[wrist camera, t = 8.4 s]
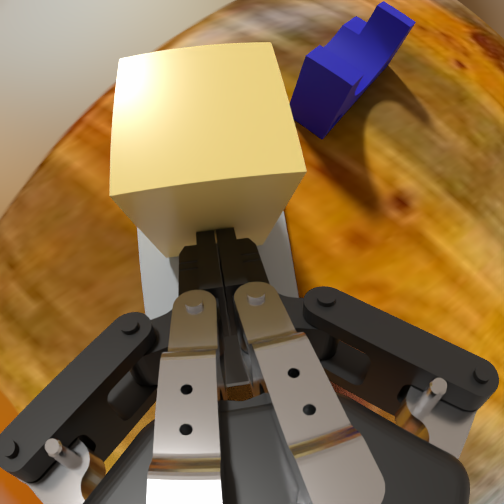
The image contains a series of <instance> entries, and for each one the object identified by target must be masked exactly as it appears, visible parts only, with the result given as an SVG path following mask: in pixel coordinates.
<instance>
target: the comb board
mask: <svg viewBox="0 0 504 504" xmlns="http://www.w3.org/2000/svg"><path fill="white" fill-rule="evenodd" d="M137 231H138V245H139V258H140V269H141V279H142V288H143V297H144V305H145V313H146V315H147V316H148V317H149V319H150V320H152V319H154V318H157V317H160V316H162V315H164V314H166V313H168V312H169V311H170V310H172V309H173V303H174V301H175V300H176V298H177V297H178V282H179V256H177V257H169V258H166V257H165V256H164V255H163V254H162V253H161V252H160V251H159V250H158V249H157V248H156V247H155V245H154V244H153V243H152V242H151V241H150V240H149V239H148V238H147V237H146V236H145V235H144V234H143V233H142V231H141V230H140V229H139V228H138V227H137ZM216 248H217V254H218V246H217V243H216ZM257 249H258V252H259V254H260V257H261V260H262V263H263V266H264V269H265V272H266V275H267V277H268V280H269V283H270V285H271V286H273V287H274V288H275V289H276V291H277V293H279V294H281V295H284V296H287V297H296V298H299V296H298V290H297V284H296V278H295V272H294V266H293V261H292V255H291V249H290V244H289V238H288V233H287V227H286V222H285V216H284V211H283V212H282V213H281V215H280V217H279V218H278V220H277V222H276V223H275V225H274V227H273V228H272V230H271V232H270V233H269V235H268V237H267V238H266V240H265V242H264V243H263V245H259V246H257ZM218 261H219V254H218ZM219 267H220V262H219ZM220 274H221V270H220ZM221 280H222V276H221ZM222 286H223V283H222ZM223 294H224V289H223ZM224 301H225V295H224ZM225 309H226V316H227V323H228V330H229V336H226V337H224V340H225V351H224V352H225V363H226V379H227V387H231V386H238V385H245V384H249V380H248V377H247V374H246V371H245V367H244V364H243V361H242V357H241V354H240V347H239V340H238V335H232V336H231V330H230V324H229V318H228V313H227V307H226V301H225Z"/></svg>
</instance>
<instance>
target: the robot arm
mask: <svg viewBox="0 0 504 504" xmlns="http://www.w3.org/2000/svg"><path fill="white" fill-rule="evenodd" d="M216 237H217V246H218V254H219V261H218V254H217V248H216V241H215V235H214V230H209V231H202V232H196V243H197V245H190V246H184V248H183V249H182V251H181V252H180V254H179V282H178V297H177V298H176V300H175V301H174V303H173V309H172V310H170V311H169V312H168V313H166V314H164V315H162V316H160V317H157V318H154V319H152V320H150V319H149V317H148V316H147V315H145V314H143V313H139V312H131V313H127V314H124V315H122V316H120V317H119V318H117V319H116V320H115V321H114V322H113V323H112V324H111V325H110V326H109V327H107V328H106V329H105V330H104V331H103V332H102V333H101V334H100V335H99V336H98V337H97V338H96V339H95V340H94V341H93V342H92V343H91V344H89V345H88V346H87V347H86V348H85V349H84V350H83V351H82V352H81V353H80V354H79V355H78V356H77V357H76V358H75V359H74V360H73V361H72V362H71V363H70V364H69V365H68V366H67V367H66V368H65V369H64V370H63V371H62V372H60V373H59V374H58V375H57V376H56V377H55V378H54V379H53V380H52V381H51V382H50V383H49V384H48V385H47V386H46V387H45V388H44V389H43V390H42V391H41V392H40V393H39V394H38V395H37V396H36V397H35V398H34V399H33V400H32V401H31V402H30V404H29V405H28V406H27V407H26V408H25V409H24V410H23V411H22V412H21V413H20V414H19V415H18V416H17V417H16V418H15V419H14V420H13V421H12V422H11V423H10V424H9V425H8V426H7V427H6V428H5V429H4V431H3V432H2V433H1V434H0V467H1V468H2V469H4V470H5V471H7V472H9V473H10V474H12V475H13V476H15V477H17V478H18V479H19V480H20V481H22V482H23V483H25V484H27V485H28V486H29V487H30V488H31V489H32V490H33V492H35V494H36V495H37V496H38V497H39V499H40V500H41V501H42V502H43V503H44V504H469V495H470V482H469V477H468V474H467V472H466V469H465V468H464V466H463V464H462V463H461V462H460V461H459V460H458V459H459V456H460V454H461V451H462V449H463V447H464V444H465V442H466V439H467V436H468V434H469V431H470V428H471V425H472V423H473V420H474V417H475V414H476V411H477V410H478V409H479V408H480V407H481V406H482V405H483V404H484V403H485V402H486V401H487V400H488V399H489V397H490V396H491V395H492V394H493V393H494V392H495V391H496V389H497V387H498V384H499V377H498V373H497V371H496V369H495V367H494V366H493V365H492V364H491V363H490V362H489V361H487V360H485V359H483V358H481V357H479V356H477V355H475V354H473V353H470V352H468V351H466V350H464V349H462V348H460V347H458V346H456V345H454V344H451V343H449V342H447V341H445V340H443V339H441V338H439V337H437V336H435V335H432V334H430V333H428V332H426V331H424V330H422V329H420V328H418V327H416V326H413V325H411V324H409V323H407V322H405V321H403V320H401V319H399V318H397V317H394V316H392V315H390V314H388V313H386V312H384V311H382V310H380V309H377V308H375V307H373V306H371V305H369V304H367V303H365V302H363V301H360V300H358V299H356V298H354V297H352V296H350V295H348V294H346V293H343V292H341V291H339V290H337V289H335V288H331V287H316V288H313V289H311V290H309V291H308V292H307V293H306V295H305V296H304V298H296V297H287V296H284V295H281V294H279V293H277V291H276V289H275V288H274V287H273V286H271V285H270V283H269V280H268V277H267V275H266V272H265V269H264V266H263V263H262V260H261V257H260V254H259V252H258V249H257V246H256V244H255V243H254V242H253V241H252V240H250V239H249V238H243V239H237V238H236V234H235V230H234V227H232V228H224V229H216ZM219 262H220V267H219ZM220 270H221V274H220ZM221 276H222V280H221ZM222 283H223V286H222ZM223 289H224V294H223ZM224 295H225V301H226V307H227V313H228V318H229V324H230V330H231V336H232V335H238V340H239V347H240V354H241V357H242V361H243V364H244V367H245V371H246V374H247V377H248V380H249V384H250V387H251V390H252V394H253V398H251V399H248V400H245V401H229V400H228V394H227V379H226V363H225V352H224V351H225V340H224V337H226V336H229V330H228V323H227V316H226V309H225V301H224ZM340 340H341V341H340ZM343 342H344V343H343ZM345 343H346V344H345ZM347 344H348V345H347ZM349 345H350V346H349ZM351 346H352V347H351ZM353 347H354V348H353ZM355 348H356V349H355ZM357 349H358V350H357ZM359 350H360V351H359ZM362 352H363V353H362ZM364 353H365V354H364ZM329 380H330V381H332V382H333V383H335V384H337V385H339V386H340V387H342V388H344V389H346V390H347V391H349V392H351V393H353V394H355V395H356V396H358V397H360V398H362V399H364V400H366V401H367V402H369V403H371V404H373V405H375V406H377V407H378V408H380V409H382V410H384V411H386V412H388V413H390V414H392V415H394V416H395V421H396V424H397V425H396V424H394V423H392V422H391V421H389V420H387V419H385V418H384V417H382V416H380V415H378V414H377V413H375V412H373V411H371V410H370V409H368V408H366V407H365V406H363V405H361V404H360V403H358V402H356V401H355V400H353V399H351V398H349V397H347V396H345V395H343V394H340V393H337V392H335V391H334V389H333V387H332V385H331V383H330V381H329ZM155 402H156V412H155V419H154V420H153V421H151V422H150V423H149V424H147V425H146V426H145V427H144V428H143V429H142V430H141V431H140V432H139V434H138V435H137V436H136V437H135V439H134V440H133V441H132V442H131V444H130V445H129V446H128V448H127V449H126V450H125V451H124V453H123V454H122V455H121V456H120V458H119V459H118V460H117V461H116V463H115V464H114V465H113V466H112V468H111V469H110V470H109V471H108V473H107V474H106V469H105V465H104V461H105V460H106V459H107V458H108V456H109V455H110V454H111V453H112V452H113V451H114V450H115V448H116V447H117V446H118V445H119V444H120V443H121V441H122V440H123V439H124V438H125V437H126V436H127V434H128V433H129V432H130V431H131V430H132V429H133V427H134V426H135V425H136V424H137V423H138V422H139V420H140V419H141V418H142V417H143V416H144V415H145V413H146V412H147V411H148V410H149V409H150V407H151V406H152V405H153V404H154V403H155ZM105 474H106V475H105Z"/></svg>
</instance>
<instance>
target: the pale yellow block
mask: <svg viewBox="0 0 504 504" xmlns="http://www.w3.org/2000/svg"><path fill="white" fill-rule="evenodd" d="M306 172H307V171H306V167H305V163H304V158H303V154H302V150H301V146H300V142H299V138H298V134H297V131H296V127H295V123H294V119H293V116H292V112H291V108H290V105H289V101H288V97H287V94H286V90H285V87H284V83H283V80H282V77H281V73H280V70H279V67H278V63H277V60H276V57H275V53H274V50H273V47H272V44H271V42H259V43H231V44H216V45H204V46H194V47H185V48H178V49H170V50H164V51H157V52H151V53H146V54H140V55H136V56H131V57H126V58H121V59H119V65H118V73H117V80H116V89H115V98H114V108H113V120H112V135H111V155H110V197H111V198H112V199H113V200H114V201H115V203H116V204H117V205H118V206H119V207H120V208H121V209H122V210H123V212H124V213H125V214H126V215H127V216H128V217H129V218H130V219H131V220H132V222H133V223H134V224H135V225H136V226H137V227H138V228H139V229H140V230H141V231H142V233H143V234H144V235H145V236H146V237H147V238H148V239H149V240H150V241H151V242H152V243H153V244H154V245H155V247H156V248H157V249H158V250H159V251H160V252H161V253H162V254H163V255H164V256H165V257H166V258H169V257H177V256H179V254H180V252H181V251H182V249H183V248H184V246H190V245H197V243H196V232H202V231H209V230H214V235H215V241H216V243H217V237H216V229H224V228H232V227H234V230H235V234H236V238H237V239H243V238H249V239H250V240H252V241H253V242H254V243H255V244H256V246H259V245H263V243H264V242H265V240H266V238H267V237H268V235H269V233H270V232H271V230H272V228H273V227H274V225H275V223H276V222H277V220H278V218H279V217H280V215H281V213H282V212H283V210H284V208H285V207H286V205H287V203H288V202H289V200H290V198H291V197H292V195H293V193H294V192H295V190H296V188H297V187H298V185H299V183H300V182H301V180H302V178H303V177H304V175H305V173H306Z"/></svg>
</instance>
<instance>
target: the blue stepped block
mask: <svg viewBox="0 0 504 504" xmlns="http://www.w3.org/2000/svg"><path fill="white" fill-rule="evenodd" d="M414 24H415V21H413V20H412V19H410V18H409V17H407V16H406V15H404V14H403V13H401V12H400V11H398V10H397V9H395V8H394V7H392V6H390V5H389V4H387V3H386V2H384V1H383V2H382V3H380V4H378V5H377V6H376V8H375V10H374V12H373V14H372V15H371V17H370V19H369V20H368V22H365V21H363V20H362V19H360V18H358V17H357V16H356V17H354V18H353V19H351V20H350V21H348V22H347V23H345V24H344V25H343V26H342V27H341V28H340V30H339V31H338V32H337V34H336V35H335V36H334V37H333V38H332V39H331V41H330V42H329V43H328V44H327V45H326V46H325V47H322V46H320V45H319V46H318V47H317V48H315V49H314V50H313V51H311V52H310V53H309V54H307V55H306V57H305V60H304V63H303V66H302V69H301V72H300V75H299V78H298V81H297V84H296V87H295V90H294V93H293V96H292V99H291V102H290V108H291V112H292V116H293V119H294V120H295V121H297V122H298V123H300V124H301V125H302V126H304V127H305V128H307V129H308V130H309V131H311V132H312V133H314V134H315V135H316V136H318V137H319V138H320V139H323V138H324V137H325V136H326V135H327V134H328V132H329V131H330V130H331V129H332V128H333V127H334V126H335V124H336V123H337V122H338V121H339V120H340V119H341V118H342V116H343V115H344V114H345V113H346V112H347V111H348V110H349V108H350V107H351V106H352V105H353V104H354V103H355V102H356V100H357V99H358V98H359V97H360V96H361V95H362V94H363V93H364V91H365V90H366V89H367V88H368V87H369V86H370V85H371V83H372V82H373V81H374V80H375V79H376V78H377V77H378V76H379V75H380V73H381V72H382V71H383V70H384V69H385V68H386V67H387V66H388V64H389V63H390V61H391V60H392V58H393V57H394V55H395V53H396V52H397V50H398V49H399V47H400V46H401V44H402V43H403V41H404V40H405V38H406V36H407V35H408V33H409V32H410V30H411V29H412V27H413V26H414Z"/></svg>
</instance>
